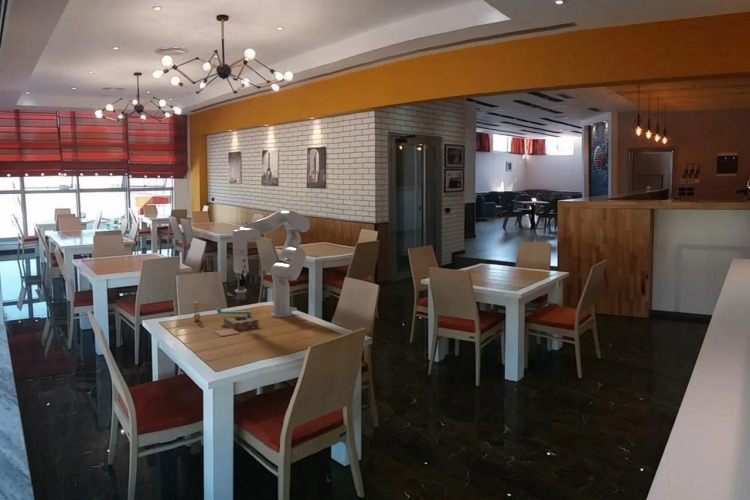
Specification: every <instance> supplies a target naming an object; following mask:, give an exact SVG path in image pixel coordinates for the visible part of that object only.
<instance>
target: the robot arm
mask: <svg viewBox="0 0 750 500" xmlns="http://www.w3.org/2000/svg"><path fill="white" fill-rule="evenodd" d="M282 226H284V228H285V231H286V232H285V233H286V239H285V242H284V243H283V244H284V245H283V246H282V250H281V252H280V259H281V261H283V262H281V261H280V262H279V261H278V262H276V263H274V264H272V266H271V270H270V271H271V277H272V292H273V293H272V297H273V301H272V307H273V310H272V311H273V312H271V313H270V316H271V317H272V318H279V319H280V318H288V317H289V318H290V317H291V316H293V312H296V311H297V310H298V308H297V307H293V306H290V283H289V281H296V280H297V279H298V277H299V276H300V274H301V272H302V269H303V267H304V265H305V262H306V258H307V254H306V251H305V249H304V248H302V247H300V244H301V242H302V240H301V235H300V233H304V232H305V233H306V232H308V231H309V230H310V227H311V225H310V220H309V219H308V218H307V217H305V216H303V215H302V214H300V213H298V212H296V211H294V210H286V209H279V210H277V211H275V212H274V213H271V214H270V215H268V216H266V217H264V218H261V219H258V220H255V221H250V222H248V223H246V224H244V225H243V226H242V225H241V227H239V229H233V230H232V256H233V263H232V264H233V272H234V274H235V278H236V280H235V281H236V282H235V284H236V286H238V281H237V273H239V274H240V279H239V285H240V287H242V286H244V287H246V276H247V275H248V274H249V271H250V270H249V269H250V268H249V259H248V243H256V242H258V241H260V240H261V238H262V234H268V233H271V232H273V231H276V230H277V229H278V228H280V227H282ZM299 232H300V233H299Z"/></svg>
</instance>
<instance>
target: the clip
mask: <svg viewBox="0 0 750 500" xmlns="http://www.w3.org/2000/svg"><path fill="white" fill-rule="evenodd" d="M216 312H217V314H220V315H240V314H241V315H247V314H252V311H251V310H237V311H236V310H222V309H221V307H218V308H216Z"/></svg>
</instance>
